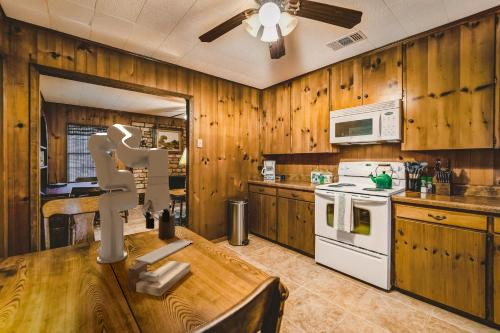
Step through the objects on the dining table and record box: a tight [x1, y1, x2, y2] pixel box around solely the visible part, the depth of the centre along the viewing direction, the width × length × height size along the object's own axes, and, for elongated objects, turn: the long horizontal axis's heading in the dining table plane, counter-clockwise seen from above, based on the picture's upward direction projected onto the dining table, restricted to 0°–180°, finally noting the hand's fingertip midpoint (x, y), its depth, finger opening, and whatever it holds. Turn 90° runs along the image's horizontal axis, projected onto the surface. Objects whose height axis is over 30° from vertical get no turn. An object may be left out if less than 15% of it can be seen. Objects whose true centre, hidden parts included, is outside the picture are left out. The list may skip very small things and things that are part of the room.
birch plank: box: [135, 260, 191, 297], centre depth 93 cm, size 10×20×3 cm, turn 163°
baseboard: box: [134, 237, 194, 265], centre depth 123 cm, size 31×3×12 cm
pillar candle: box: [157, 212, 176, 240], centre depth 145 cm, size 10×10×15 cm
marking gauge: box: [127, 261, 159, 292], centre depth 87 cm, size 10×6×8 cm, turn 73°
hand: (158, 225), depth 91 cm, fingers open, 9 cm apart
